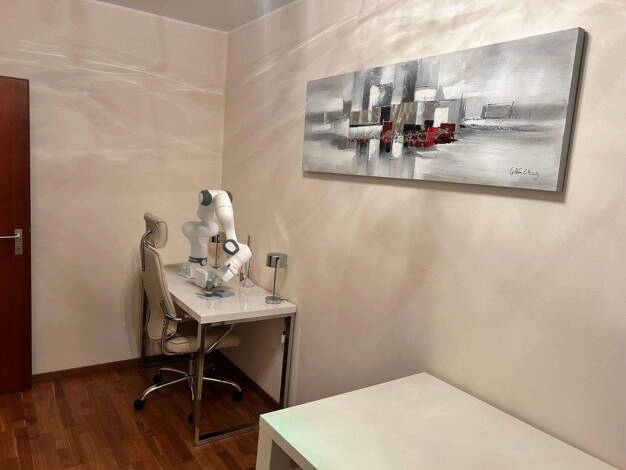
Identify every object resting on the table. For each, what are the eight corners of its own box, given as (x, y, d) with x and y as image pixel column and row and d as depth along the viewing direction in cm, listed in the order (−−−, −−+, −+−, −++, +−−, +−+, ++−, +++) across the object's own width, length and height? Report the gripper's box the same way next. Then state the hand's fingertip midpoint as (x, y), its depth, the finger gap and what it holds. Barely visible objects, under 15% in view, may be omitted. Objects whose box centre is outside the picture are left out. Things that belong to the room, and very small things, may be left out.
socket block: (206, 293, 298) (206, 288, 297) (218, 290, 306) (218, 286, 306) (222, 298, 290) (222, 293, 289) (234, 295, 298) (234, 290, 297)
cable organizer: (218, 288, 312) (220, 270, 310) (203, 289, 305) (205, 271, 304) (208, 283, 323) (209, 266, 322) (193, 284, 317) (194, 267, 315)
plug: (202, 296, 288) (204, 279, 287) (208, 295, 292) (209, 278, 291) (208, 297, 286) (209, 280, 284) (214, 296, 289) (215, 279, 288)
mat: (196, 296, 288) (196, 295, 288) (208, 294, 295) (208, 293, 295) (208, 300, 282) (208, 299, 282) (219, 297, 289) (219, 297, 289)
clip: (212, 288, 299) (212, 287, 299) (210, 288, 297) (210, 287, 297) (205, 285, 303) (205, 284, 303) (202, 286, 301) (202, 285, 301)
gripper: (223, 259, 300) (206, 275, 297) (231, 266, 281) (213, 283, 278) (230, 266, 302) (213, 282, 299) (238, 274, 283) (220, 290, 281)
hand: (213, 282), depth 289 cm, fingers open, 8 cm apart
